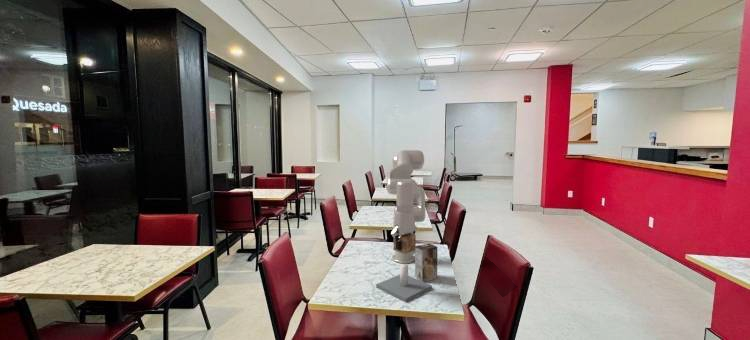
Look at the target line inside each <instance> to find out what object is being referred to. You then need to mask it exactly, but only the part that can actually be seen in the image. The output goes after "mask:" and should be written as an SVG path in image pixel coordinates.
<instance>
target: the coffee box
mask: <svg viewBox="0 0 750 340" xmlns="http://www.w3.org/2000/svg"><path fill="white" fill-rule="evenodd" d="M414 258H415V260H414V278H415V279H418V280H420V281H422V282H425V283H426V282H428V281H433V280H437V279H438V246H437V245H434V244H432V243H425V244H419V245H416V249H415V254H414Z"/></svg>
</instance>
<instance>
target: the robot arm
mask: <svg viewBox="0 0 750 340" xmlns="http://www.w3.org/2000/svg"><path fill="white" fill-rule="evenodd" d="M391 163H392V169H391V170H390V171H389V172H388V174H387V177H386V191H387V193H388V194H389V195H392V196H393V195H394V196H395V195H396V206H395V207H394V209H393V225H392V231H391V233H390V235H391V236H392V238H393V241H394V240H396V249H398V250H402V241H401V237H402V235H405V234H409V233H410V234H413V235H416V232H417V229H418V226H417V225H416V224H415V223H422V222H424V221H425V220H426V196H425V195H426V193H425V188H423V186H419V185H418V183H417V181H416V180H415V179H414V178H412V176H411V175H413V173H414V170H422V168H423V167H424V164H425V155H424V153H423V152H422V150H417V149H416V150H415V149H414V150H411V149H410V150H408V149H407V150H400V151H399V152H397V154H396V155H395V156H393V158H392V162H391ZM398 235H399V238H398ZM392 260H393V262H395V263H398V264H411V263H413V262H415V251H412V252H409V253H406V254H404V253H401V252H398V251H395V250H394V255H393V256H392Z"/></svg>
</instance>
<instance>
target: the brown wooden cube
mask: <svg viewBox="0 0 750 340" xmlns="http://www.w3.org/2000/svg"><path fill="white" fill-rule="evenodd" d="M398 238H399V235H398ZM416 240H417V239H416V234H414V235H413V234H410V233H409V234H405V235H402V237H401V241H402V250H398V249H396V240H394V239H393V251H394V252H395V251H398V252H401V253H404V254H406V253H409V252H412V251H415V249H416V246H417V245H416V243H417V242H416Z"/></svg>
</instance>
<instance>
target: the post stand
mask: <svg viewBox="0 0 750 340" xmlns="http://www.w3.org/2000/svg"><path fill="white" fill-rule="evenodd" d="M399 265H400V266H399V273H400V274H397V275H396V276H392V277H390V278H389V279H388V278H387V279H385V280H383V281H380V282H378V283H376V284H375V288H377V289H378V290H380V291H382V292H384V293H386V294H388V295H390V296H392V297H394V298H397V299H398V300H400V301H402V302H404V303H406V302H409V301H411V300H412V299H414V298H417V297H419V296H420V295H421V296H422V295H423V294H425V293H427V292H428V291H431V290H432V289H433V285H432V284H430V283H427V282H426V281H425V282H422V281H420V280H418V279H417V278H415V277H413V276H410V275H409V265H408V264H407V263H401V264H399Z"/></svg>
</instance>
